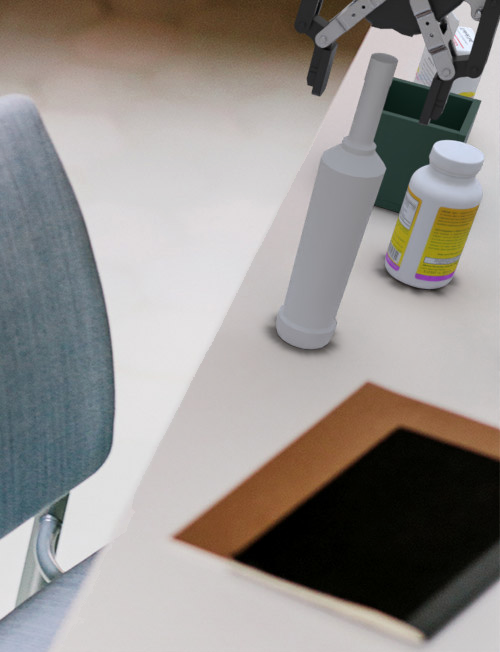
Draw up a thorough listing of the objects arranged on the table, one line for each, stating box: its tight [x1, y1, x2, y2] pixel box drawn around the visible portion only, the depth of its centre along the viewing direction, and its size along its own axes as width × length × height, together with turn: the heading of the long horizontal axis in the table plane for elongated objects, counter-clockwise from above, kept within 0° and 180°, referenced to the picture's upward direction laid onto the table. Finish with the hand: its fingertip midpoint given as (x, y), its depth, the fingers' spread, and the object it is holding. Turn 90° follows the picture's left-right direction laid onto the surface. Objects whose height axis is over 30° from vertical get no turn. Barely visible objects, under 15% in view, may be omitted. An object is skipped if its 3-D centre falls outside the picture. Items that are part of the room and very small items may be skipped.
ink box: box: [413, 10, 484, 99], centre depth 137 cm, size 9×5×15 cm, turn 179°
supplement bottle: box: [384, 140, 486, 290], centre depth 112 cm, size 7×7×13 cm
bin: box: [374, 77, 482, 213], centre depth 126 cm, size 11×11×10 cm
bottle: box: [275, 52, 399, 350], centre depth 97 cm, size 5×5×25 cm
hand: (370, 106), depth 92 cm, fingers open, 8 cm apart
